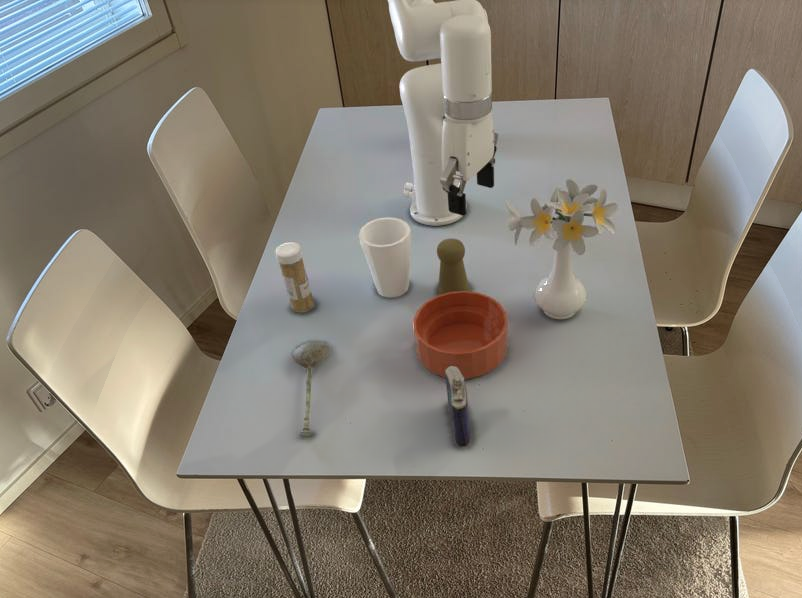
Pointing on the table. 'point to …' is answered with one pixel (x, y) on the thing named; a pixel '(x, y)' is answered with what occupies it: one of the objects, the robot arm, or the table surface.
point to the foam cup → (387, 254)
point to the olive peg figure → (452, 266)
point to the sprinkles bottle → (295, 276)
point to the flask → (458, 405)
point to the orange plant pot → (461, 333)
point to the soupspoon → (309, 371)
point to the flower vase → (564, 242)
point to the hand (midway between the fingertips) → (471, 199)
